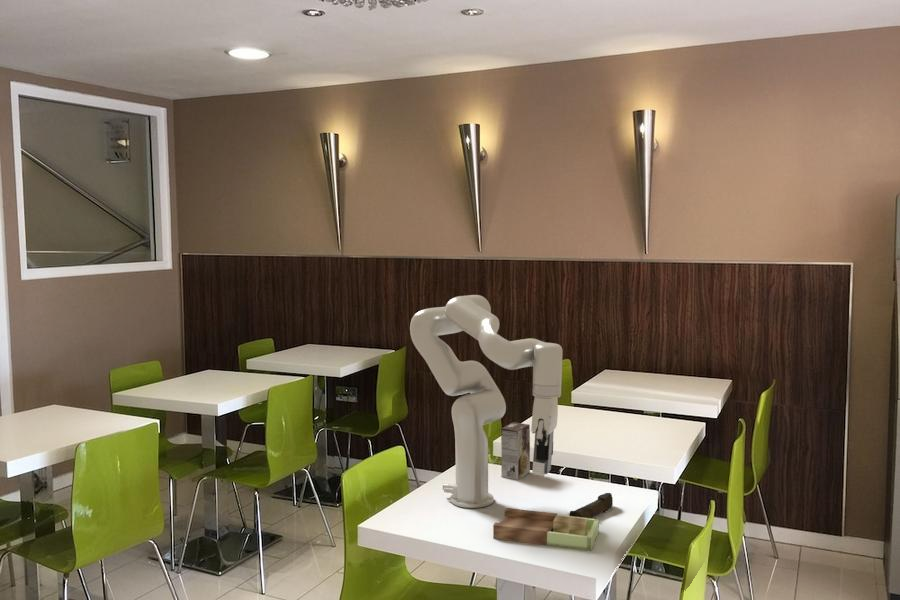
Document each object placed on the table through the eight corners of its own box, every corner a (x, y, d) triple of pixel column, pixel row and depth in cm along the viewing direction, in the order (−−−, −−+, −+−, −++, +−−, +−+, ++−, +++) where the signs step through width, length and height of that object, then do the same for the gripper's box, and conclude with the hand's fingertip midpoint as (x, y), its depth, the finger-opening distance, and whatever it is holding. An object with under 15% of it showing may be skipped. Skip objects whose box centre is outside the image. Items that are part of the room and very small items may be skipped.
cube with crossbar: (530, 473, 202) (533, 429, 201) (538, 464, 210) (541, 422, 208) (545, 476, 201) (548, 432, 199) (552, 467, 208) (555, 424, 207)
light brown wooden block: (568, 538, 195) (568, 522, 195) (571, 532, 199) (571, 517, 198) (584, 540, 194) (584, 524, 193) (587, 534, 197) (587, 519, 197)
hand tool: (580, 527, 204) (580, 510, 204) (568, 523, 207) (568, 506, 207) (620, 509, 217) (620, 493, 217) (608, 506, 220) (608, 490, 220)
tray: (547, 545, 192) (547, 532, 192) (557, 526, 204) (557, 514, 204) (591, 550, 189) (591, 538, 188) (598, 531, 201) (598, 519, 201)
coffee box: (512, 469, 254) (512, 421, 253) (530, 472, 251) (530, 423, 250) (500, 477, 246) (500, 427, 245) (518, 480, 243) (518, 430, 242)
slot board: (493, 538, 197) (493, 524, 196) (506, 520, 209) (506, 507, 209) (547, 545, 192) (547, 531, 192) (557, 526, 204) (557, 513, 204)
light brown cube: (553, 536, 196) (553, 520, 196) (556, 530, 200) (556, 515, 200) (568, 538, 195) (568, 522, 195) (571, 532, 199) (571, 517, 198)
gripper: (541, 382, 212) (539, 446, 214) (524, 395, 196) (522, 464, 198) (567, 384, 209) (565, 450, 211) (553, 398, 193) (550, 468, 195)
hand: (544, 456), depth 205 cm, fingers closed on cube with crossbar, 4 cm apart
